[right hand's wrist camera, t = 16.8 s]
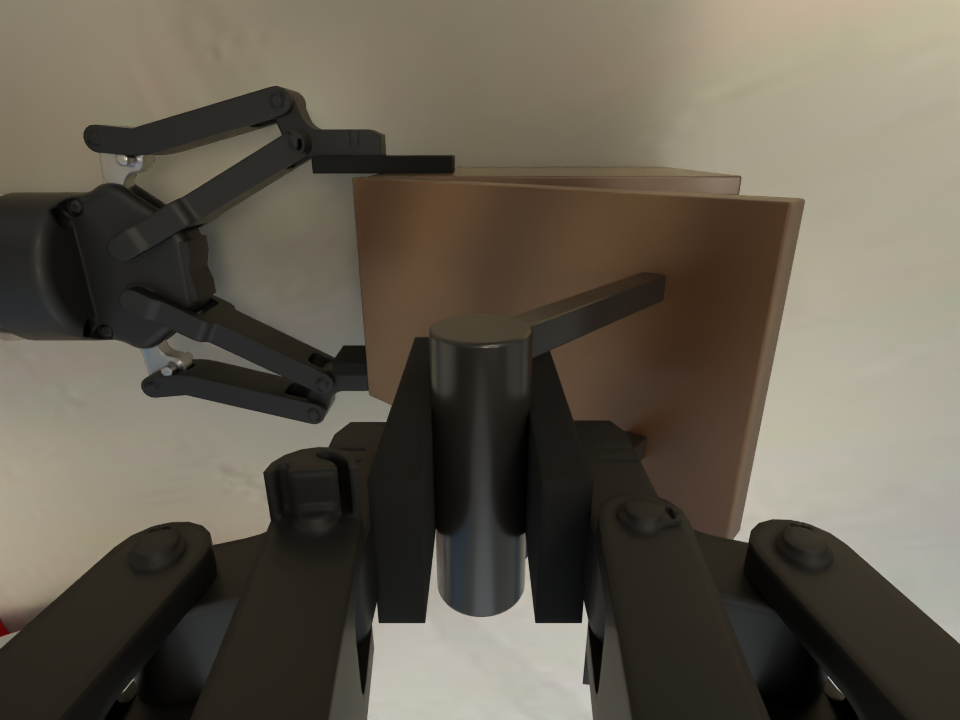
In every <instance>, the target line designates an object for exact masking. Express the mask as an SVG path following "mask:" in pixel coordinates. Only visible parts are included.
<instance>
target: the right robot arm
mask: <svg viewBox="0 0 960 720" xmlns="http://www.w3.org/2000/svg"><path fill="white" fill-rule="evenodd" d="M263 473H264V480H265V486H266V492H267V498H268V505H269V511H270V517H271V522H270V525H269V527H268V530H267V532H265V533H262V534H260V535H256V536H253V537H249V538H245V539H241V540H236V541H231V542H226V543H221V544H217V545H213V544H212V540H211V535H210V533H209V532H208V531H207V530H206V529H205V528H204V527H203V526H202V525H198V524H195V523H191V522H170V523H166V524H162V525H156V526H153V527H150V528H148V529H146V530H143V531H141V532H139V533H136V534H134V535H132V536H130V537H129V538H127V539H126V540H124V541H123V542H122V543H120V544H119V545H117V546H116V547H114V548H113V549H112V550H111V551H110V552H109V553H108V554H107V555H105V556H104V557H103V558H102V559H101V560H100V561H99V562H97V563H96V564H95V565H94V566H93V567H92V568H91V569H90V570H88V571H87V572H86V573H85V574H84V575H83V576H82V577H81V578H79V579H78V580H77V581H76V582H75V583H74V584H73V585H72V586H70V587H69V588H68V589H67V590H66V591H65V592H64V593H62V594H61V595H60V596H59V597H58V598H57V599H56V600H55V601H53V602H52V603H51V604H50V605H49V606H48V607H47V608H46V609H44V610H43V611H42V612H41V613H40V614H39V615H38V616H36V617H35V618H34V619H33V620H32V621H31V622H30V623H29V624H27V625H26V626H25V627H24V628H23V629H22V630H21V631H20V632H18V633H17V634H16V635H15V636H14V637H13V638H12V639H11V640H9V641H8V642H7V643H6V644H5V645H4V646H3V647H1V648H0V720H367V714H368V704H369V694H370V684H371V674H372V664H373V654H374V642H373V631H372V621H373V617H374V612H375V608H376V604H377V607H378V619H379V623H425V619H426V610H427V602H428V593H429V584H430V575H431V567H432V558H433V549H434V541H435V532H436V519H435V490H434V461H433V432H432V407H431V382H430V354H429V337H415V339H414V342H413V345H412V348H411V351H410V354H409V357H408V360H407V362H406V365H405V368H404V371H403V374H402V377H401V380H400V383H399V386H398V389H397V392H396V395H395V398H394V401H393V404H392V407H391V410H390V413H389V416H388V419H387V422H350V423H349V424H348V425H346V426H345V427H344V428H342V429H341V430H340V431H338V432H337V433H336V434H335V435H334V437H333V439H332V441H331V443H330V445H329V447H328V448H327V447H316V448H309V449H301V450H298V451H295V452H292V453H289V454H286V455H284V456H282V457H281V458H279V459H277V460H276V461H274V462H272V463H271V464H270V465H269V466H268V468H267V469H266V470H265V471H264V472H263ZM525 536H526V545H527V554H528V562H529V571H530V580H531V588H532V597H533V606H534V615H535V623H582V614H583V602H584V603H585V607H586V612H587V616H588V631H587V642H586V654H585V665H584V676H583V684H590V693H591V703H592V713H593V720H960V644H959V643H958V642H957V641H956V640H955V639H954V638H952V637H951V636H950V635H949V634H948V633H947V632H946V631H944V630H943V629H942V628H941V627H940V626H939V625H938V624H936V623H935V622H934V621H933V620H932V619H931V618H930V617H929V616H927V615H926V614H925V613H924V612H923V611H922V610H921V609H919V608H918V607H917V606H916V605H915V604H914V603H913V602H911V601H910V600H909V599H908V598H907V597H906V596H905V595H903V594H902V593H901V592H900V591H899V590H898V589H897V588H895V587H894V586H893V585H892V584H891V583H890V582H889V581H888V580H886V579H885V578H884V577H883V576H882V575H881V574H880V573H878V572H877V571H876V570H875V569H874V568H873V567H872V566H870V565H869V564H868V563H867V562H866V561H865V560H864V559H862V558H861V557H860V556H859V555H858V554H857V553H856V552H854V551H853V550H852V549H851V548H850V547H849V546H848V545H846V544H845V543H844V542H842V541H841V540H839V539H838V538H836V537H835V536H833V535H832V534H830V533H828V532H826V531H824V530H821V529H819V528H817V527H815V526H813V525H810V524H807V523H803V522H802V523H801V522H799V521H793V520H775V519H772V520H769V521H765V522H761V523H758V524H757V525H756V526H755V527H754V528H753V529H752V530H751V533H750V538H749V543H746V542H741V541H736V540H731V539H727V538H722V537H717V536H713V535H709V534H706V533H702V532H699V531H697V530H695V529H692V526H691V524H690V521H689V520H688V518H687V517H686V515H685V514H684V513H683V511H682V510H681V509H680V508H678V507H677V506H675V505H674V504H672V503H671V502H670V501H668V500H665V499H663V498H660V497H658V495H657V493H656V491H655V489H654V487H653V485H652V483H651V481H650V479H649V477H648V475H647V473H646V471H645V469H644V467H643V465H642V463H641V461H639V458H638V456H637V454H636V452H635V450H634V449H633V446H632V444H631V442H630V440H629V438H628V436H627V434H626V432H625V431H623V430H622V429H621V428H619V427H618V426H617V425H615V424H614V423H613V422H611V421H610V420H573V417H572V414H571V411H570V408H569V405H568V403H567V400H566V397H565V394H564V391H563V388H562V385H561V382H560V379H559V376H558V373H557V370H556V367H555V364H554V361H553V358H552V355H551V352H550V351H548V352H546V353H543V354H541V355H539V356H537V357H534V358H532V381H531V407H530V410H529V433H528V463H527V492H526V521H525ZM828 676H829V678H830V679H831V680H832V681H833V683H834V684H835V685H836V686H837V687H838V689H839V690H840V691H841V692H842V693H843V694H842V693H841V692H840V691H839V690H838V689H837V688H836V687H835V686H834V685H833V683H832V682H831V681H830V680H829V679H828ZM133 679H134V680H133ZM132 680H133V681H132ZM131 681H132V682H131ZM130 682H131V684H130ZM129 684H130V685H129ZM128 685H129V686H128ZM127 686H128V687H127ZM126 687H127V688H126ZM125 688H126V690H125ZM124 690H125V691H124ZM123 691H124V692H123ZM122 692H123V693H122Z"/></svg>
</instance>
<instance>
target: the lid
mask: <svg viewBox="0 0 960 720" xmlns="http://www.w3.org/2000/svg"><path fill="white" fill-rule="evenodd" d="M352 180H353V193H354V206H355V219H356V231H357V244H358V257H359V270H360V283H361V295H362V308H363V321H364V334H365V347H366V359H367V372H368V385H369V395H370V396H373V397H375V398H377V399H379V400H382V401H384V402H386V403H388V404H391V405H392V404H393V401H394V398H395V395H396V392H397V389H398V386H399V383H400V380H401V377H402V374H403V371H404V368H405V365H406V362H407V360H408V357H409V354H410V351H411V348H412V345H413V342H414V339H415V337H429V354H430V382H431V407H432V432H433V461H434V490H435V519H436V553H437V581H438V590H439V593H440V595H441V597H442V599H443V600H444V601H445V603H446V604H447V605H448V606H450V607H451V608H452V609H454V610H455V611H457V612H460V613H462V614H465V615H469V616H475V617H487V616H493V615H497V614H500V613H503V612H505V611H507V610H508V609H510V608H511V607H513V606H514V605H515V604H516V603H517V602H518V600H519V599H520V597H521V595H522V593H523V591H524V584H525V559H526V558H527V557H528V554H527V545H526V536H525V521H526V492H527V463H528V433H529V410H530V407H531V381H532V358H534V357H537V356H539V355H541V354H543V353H546V352H548V351H550V352H551V355H552V358H553V361H554V364H555V367H556V370H557V373H558V376H559V379H560V382H561V385H562V388H563V391H564V394H565V397H566V400H567V403H568V405H569V408H570V411H571V414H572V417H573V420H610V421H611V422H613V423H614V424H615V425H617V426H618V427H619V428H621V429H622V430H623V431H625V432H626V434H627V436H628V438H629V440H630V442H631V444H632V446H633V449H634V450H635V452H636V454H637V456H638V458H639V461H641V463H642V465H643V467H644V469H645V471H646V473H647V475H648V477H649V479H650V481H651V483H652V485H653V487H654V489H655V491H656V493H657V495H658V497H660V498H663V499H665V500H668V501H670V502H671V503H672V504H674V505H675V506H677V507H678V508H680V509H681V510H682V511H683V513H684V514H685V515H686V517H687V518H688V520H689V521H690V524H691V526H692V529H695V530H697V531H699V532H702V533H706V534H709V535H713V536H717V537H722V538H727V539H731V540H733V539H734V537H735V536H736V535H737V533H738V532H739V530H740V526H741V521H742V516H743V511H744V506H745V501H746V496H747V491H748V486H749V481H750V476H751V471H752V466H753V461H754V456H755V450H756V445H757V440H758V435H759V430H760V425H761V420H762V415H763V410H764V405H765V400H766V395H767V390H768V385H769V380H770V375H771V370H772V365H773V360H774V355H775V350H776V345H777V340H778V335H779V330H780V324H781V319H782V314H783V309H784V304H785V299H786V294H787V289H788V284H789V279H790V274H791V269H792V264H793V259H794V254H795V249H796V244H797V239H798V234H799V229H800V224H801V219H802V214H803V209H804V203H805V200H804V199H802V198H783V197H764V196H745V195H725V194H706V193H686V192H667V191H647V190H628V189H609V188H589V187H570V186H550V185H531V184H512V183H492V182H473V181H453V180H434V179H414V178H395V177H356V178H353V179H352Z"/></svg>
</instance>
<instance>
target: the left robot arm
mask: <svg viewBox="0 0 960 720" xmlns="http://www.w3.org/2000/svg"><path fill="white" fill-rule="evenodd" d="M274 124H277V125H278V127H279V129H280V131H281V133H282V136H280V137H278V138H277V139H275V140H274V141H272V142H270V143H269V144H267V145H266V146H264V147H262V148H261V149H259V150H258V151H256V152H254V153H253V154H251V155H250V156H248V157H246V158H245V159H243V160H242V161H240V162H238V163H237V164H235V165H234V166H232V167H230V168H229V169H227V170H226V171H224V172H222V173H221V174H219V175H218V176H216V177H214V178H213V179H211V180H210V181H208V182H206V183H205V184H203V185H202V186H200V187H198V188H197V189H195V190H194V191H192V192H190V193H189V194H187V195H186V196H184V197H182V198H180V199H177V200H175V201H173V202H171V203H169V204H167V205H166V204H164V203H163V202H161V201H160V200H158V199H157V198H155V197H154V196H152V195H151V194H149V193H148V192H146V191H145V190H143V189H142V188H140V187H138V186H137V185H135V177H136V176H137V175H138V174H139V173H140V172H145V171H148V170H150V169H151V168H152V166H153V164H154V162H155V157H154V155H167V154H174V153H178V152H182V151H186V150H189V149H192V148H196V147H199V146H203V145H206V144H209V143H213V142H216V141H220V140H223V139H226V138H230V137H233V136H237V135H240V134H244V133H247V132H250V131H254V130H257V129H261V128H264V127H267V126H271V125H274ZM84 141H85V143H86V145H87V146H88V147H89V148H90V149H91V150H93V151H95V152H98V153H99V154H100V162H101V169H102V176H103V183H104V184H102V185H100V186H98V187H96V188H95V189H94V190H92V191H90V192H88V193H10V194H1V193H0V340H23V339H28V340H119V341H122V342H125V343H128V344H130V345H132V346H134V347H137V348H141V351H142V354H143V357H144V360H145V363H146V366H147V369H148V372H149V376H148V377H146V378H145V379H144V380H143V381H142V383H141V388H142V390H143V392H144V393H145V394H146V395H148V396H150V397H154V398H157V397H169V396H180V395H188V396H192V397H197V398H201V399H205V400H210V401H214V402H219V403H223V404H227V405H232V406H236V407H241V408H245V409H249V410H254V411H258V412H262V413H267V414H271V415H276V416H280V417H284V418H289V419H293V420H297V421H302V422H306V423H311V424H318V423H320V422H322V421H323V419H324V418H325V416H326V414H327V412H328V411H329V409H330V407H331V405H332V404H333V402H334V400H335V394H336V393H337V392H339V391H369V385H368V372H367V359H366V347H365V346H343V347H342V349H341V350H340V352H339V353H338V354H337V356H336V357H335V358H334V357H332V356H330V355H328V354H326V353H324V352H322V351H320V350H318V349H315V348H313V347H311V346H309V345H307V344H305V343H303V342H301V341H299V340H297V339H295V338H293V337H291V336H289V335H286V334H284V333H282V332H280V331H278V330H276V329H274V328H272V327H270V326H268V325H266V324H264V323H262V322H260V321H257V320H255V319H253V318H251V317H249V316H247V315H245V314H243V313H241V312H239V311H237V310H236V309H235V308H234V306H233V305H232V304H230V303H229V302H227V301H225V300H223V299H220V298H218V297H216V296H214V295H212V294H214V293H216V290H215V285H214V279H213V277H212V274H211V272H210V270H209V267H208V265H207V260H208V250H209V249H208V244H207V238H206V235H201V233H200V231H199V228H201V227H203V226H204V225H206V224H208V223H209V222H211V221H212V220H214V219H216V218H217V217H219V216H220V214H222V213H223V212H225V211H227V210H228V209H230V208H231V207H233V206H235V205H236V204H238V203H240V202H241V201H243V200H245V199H246V198H248V197H250V196H251V195H253V194H254V193H256V192H258V191H259V190H261V189H263V188H264V187H266V186H268V185H269V184H271V183H273V182H274V181H276V180H277V179H279V178H281V177H282V176H284V175H286V174H287V173H289V172H291V171H292V170H294V169H295V168H297V167H299V166H300V165H302V164H304V163H305V162H307V161H309V160H310V159H312V168H313V173H453V172H454V171H455V155H386V146H385V135H384V134H382V133H379V132H377V131H374V130H322V129H319V128H318V127H316V126H315V125H314V124H313V123H312V121H311V119H310V117H309V114H308V112H307V110H306V102H305V100H304V98H303V96H302V95H301V94H300V93H298V92H295V91H292V90H289V89H286V88H282V87H279V86H272V87H269V88H265V89H262V90H259V91H255V92H252V93H249V94H245V95H242V96H239V97H235V98H232V99H229V100H225V101H222V102H219V103H215V104H212V105H209V106H205V107H202V108H199V109H195V110H192V111H189V112H185V113H182V114H179V115H175V116H172V117H169V118H165V119H162V120H159V121H155V122H152V123H149V124H145V125H142V126H139V127H125V126H107V125H90V126H88V127H87V128H86V129H85V131H84ZM176 332H177V333H180V334H182V335H184V336H186V337H188V338H190V339H192V340H195V341H198V342H210V343H212V344H214V345H216V346H219V347H221V348H223V349H225V350H227V351H229V352H231V353H234V354H236V355H238V356H240V357H242V358H244V359H246V360H249V361H251V362H253V363H255V364H257V365H259V366H261V367H263V368H266V369H268V370H270V371H272V372H274V373H276V374H278V375H281V376H283V377H281V376H277V375H273V374H269V373H264V372H260V371H256V370H252V369H247V368H243V367H239V366H235V365H230V364H226V363H222V362H218V361H212V360H205V359H193V355H192V354H191V353H189V352H183V351H177V350H174V349H173V348H171V347H170V346H169V344H168V342H167V339H169V338H170V337H171V336H173V335H174V334H175V333H176Z"/></svg>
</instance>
